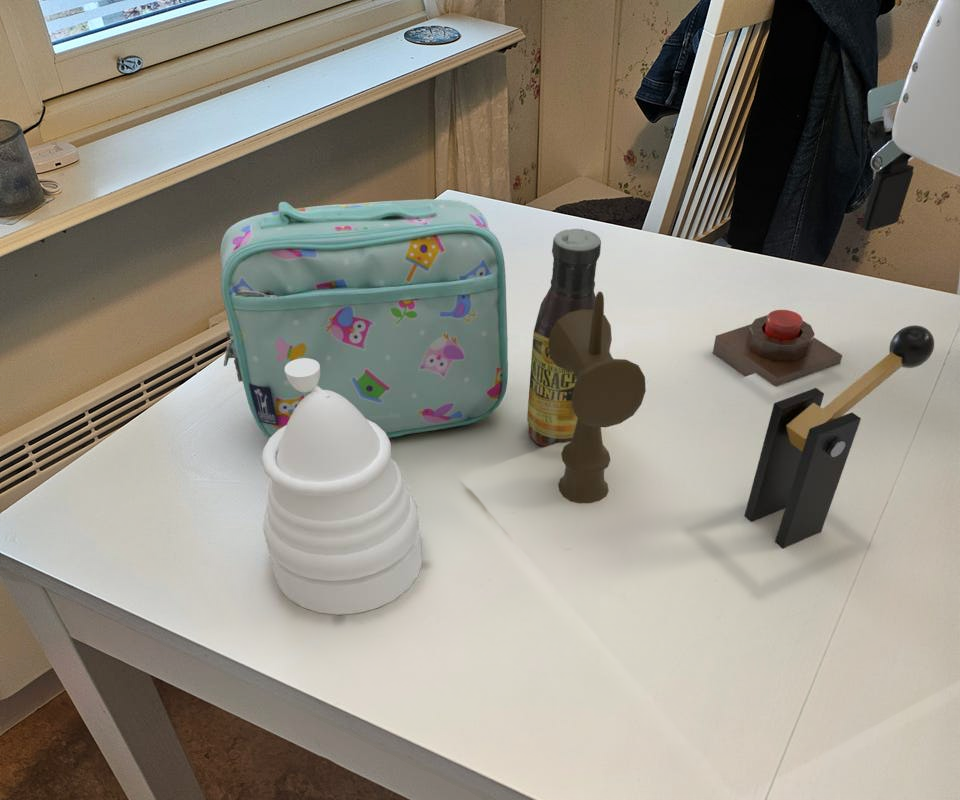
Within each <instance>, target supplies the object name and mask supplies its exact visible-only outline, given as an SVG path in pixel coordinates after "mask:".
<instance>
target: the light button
mask: <svg viewBox="0 0 960 800" xmlns="http://www.w3.org/2000/svg"><path fill="white" fill-rule="evenodd" d="M767 315H768V317H767V321H766V325H765V329H764V332H765V334H766V335H768V336H769V337H771V338H775V339H779V340H793V339H796V338H797V337H798V336H799V333H800V329H801V325H802V321H804V319H803V317H802V315H800V314H799V313H797V312H795V311H793V310H789V309H776V310H772V311H770V312H769V313H768V314H767Z"/></svg>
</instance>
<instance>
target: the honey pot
mask: <svg viewBox="0 0 960 800" xmlns="http://www.w3.org/2000/svg"><path fill="white" fill-rule="evenodd" d="M285 374H286V376H287V379H288V381H289V382H290V384H291V385H292V386H293V387H294V388H295V389H296V390H298V391H300V392H310V391H311V393H310V394H308V395H307V396H306V397H304V398H303V399H302V400H301V401H300V403H299V404H298V405H297V407H296V408H295V410H294V412H293V413H292V415H291V417H290V419H289V421H288V423H287V425H286V426H284V427H282V428H281V429H279V430H278V431H277V432H276V433H275V434H274V435H272V436H271V437H270V438H268V440H267V442H266V443H265V445H264V447H263V449H262V454H261V465H262V468H263V470H264V473H265V475H266V476H267V477H268V478H269V481H268V488H267V502H266V508H265V510H264V515H263V524H262V525H263V528H262V531H263V534H264V537H265V543H266V547H267V551H268V555H269V559H270V563H271V566H272V572H273V574H274V578H275V581H276V584H277V587H278V588H279V590H280V591H281V592H282V593H283V595H284V596H285V597H286V598H287V599H289V600H290V601H292V602H293V603H295V604H296V605H298V606H299V607H301V608H304V609H306V610H309V611H313V612H315V613H319V614H326V615H327V614H328V615H335V616H340V615H341V616H342V615H352V614H353V615H354V614H355V615H356V614H361V613H364V612H369V611H372V610H376V609H379V608H381V607H383V606H384V605H387V604H389V603H391V602H393V601H396V600H397V599H398V598H399V597H400V596H401V595H403V594H404V593H405V592H407V591H408V590H409V589H410V588H411V586H412V585H413V584H414V582H415V580H416V579H417V578H418V577H419V575H420V571H421V567H422V565H423V557H422V555H423V554H422V543H421V532H420V530H421V529H420V521H419V519H420V518H419V509H418V508H419V507H418V504H417V501H416V499H415V496H414V495H413V494H412V491H411V489H410V488H409V487H408V485H407V483H406V481H405V479H404V478H403V473H402V471H401V469H400V467H399V465H398V463H397V462H396V461H395V460H394V459H393V458H391V456H392V443H391V441H390V438H388V437H387V435H386V433H385V432H384V431H383V430H382V429H381V428H380V427H379V426H378V425H377V424H375V423H373V422H371V421H369V420H367V419H366V418H365V417H364V416H363V415H362V414H361V413H360V411H359V410H358V409H357V408H356V407H355V406H354V405H352V404H351V403H350V402H349V401H348V400H347V399H346V398H344V397H343V396H341V395H339V394H337V393H335V392H333V391H329V390H322V389H321V388H320V387H318V386H317V384H318V381H319V378H320V365H319V363H318V362H317V361H316V360H313V359H309V358H300V359H296V360H293V361H291V362H289V363H288V364H287V365H286V366H285Z"/></svg>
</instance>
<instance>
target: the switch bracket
mask: <svg viewBox="0 0 960 800" xmlns="http://www.w3.org/2000/svg"><path fill="white" fill-rule="evenodd" d="M824 396H825V392H823V391H821V390H820V389H819V388H818V387H814V388H811V389H809V390H806V391H803V392H800V393H797V394H795V395H792V396H790V397H786V398H784V399H782V400H779V401H776V402H774V403H773V405H772V408H771V409H772V410H771V414H770V417H769V421H768V425H767V429H766V433H765V436H764V440H763V444H762V448H761V451H760V455H759V459H758V461H757V462H758V463H757V466H756V470H755V474H754V478H753V481H752V486H751V489H750V493H749V496H748V500H747V504H746V507H745V512H744V517H745V518H746V519H747V520H748V521H749V522H750V523H754V522H756V521H758V520H760V519H763V518H765V517H767V516H770V515H772V514H774V513H777V512H780V511H781V510H784V511H783V514H782V517H781V520H780V524H779V526H778V527H779V528H778V531H777V534H776V538H775V541H774V543H775V544H776V545H778V546H779V547H780V548H781V549H785V548H788V547H790V546H792V545H795V544H797V543H800V542H801V541H804V540H806V539H809V538H811V537H813V536H815V535H818V534H820V533H822V531H823V528H824V525H825V522H826V519H827V516H828V514H829V511H830V508H831V506H832V503H833V500H834V496H835V494H836V491H837V489H838V485H839V482H840V480H841V477H842V474H843V471H844V469H845V466H846V463H847V460H848V457H849V454H850V451H851V449H852V445H853V442H854V440H855V438H856V435H857V432H858V429H859V426H860V424H861V421H862V417H860V416H859V415H857V414H855V413H854V412H849V413H845V414H844V415H843V416H841V417H839V418H836V419H833V420H831V421H828V422H826V423H823V424H820V425H818V426H815V427H813V428H810V429H809V432H808V436H807V439H806V442H805V445H804V449H803V452H802V451H800V450H799V449H798V448H796V447H795V446H794V445H792V444H791V443H790V439H789V435H788V431H787V427H786V425H787V424H788V423H790V422H791V421H792V420H793V419H794V418H796V417H797V416H798V415H799V414H800V413H802V412H803V411H804V410H805V409H806V408H808V407H809V406H810V405H811V404H812V403H815V404H816V405H818V406H819V407H821V406H822V403H823V399H824Z"/></svg>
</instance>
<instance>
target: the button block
mask: <svg viewBox="0 0 960 800" xmlns="http://www.w3.org/2000/svg"><path fill="white" fill-rule="evenodd" d="M767 317H768V314H767V315H763V316H760V317H757V318H755V319H754V320H753V322H752V323H750V324H747V325H744V326H741V327H738V328H735V329H732V330H729V331H726V332H723V333H720V334H717V335H715V339H714V343H713V349H712V354H713V355H714V356H715V357H717V358H718V359H720V360H721V361H723V362H724V363H725V364H727V365H728V366H730V367H731V368H732V369H733V370H735V371H736V372H738V373H739V374H740V375H742V376H743V377H748V376H752V375H755V374H757V375H758V376H759V377H761V378H762V379H764V380H765V381H767V382H768V383H769V384H771V385H772V386H774V387H778V386H782V385H784V384H788V383H789V382H793V381H795V380H798V379H800V378H804V377H807V376H809V375H812V374H815V373H818V372H821V371H823V370H827V369H830V368H831V367H834V366H837V365H840V364H841V361H842V358H843V355H842V353H840V352H838V351H837V350H835V349H833V348H832V347H830V346H829V345H827V344H825V343H824V342H822V341H821V340H819V339H818V338H816V337H815V332H814V328H813V327H812V325H811V324H810V323H807V322H806V321H804V320H803V321H802V325H801V329H800V333H799V336H798V337H797V338H796V339H793V340H779V339H775V338H771V337H769V336H768V335H766V334H765V332H764V329H765V325H766V321H767Z"/></svg>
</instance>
